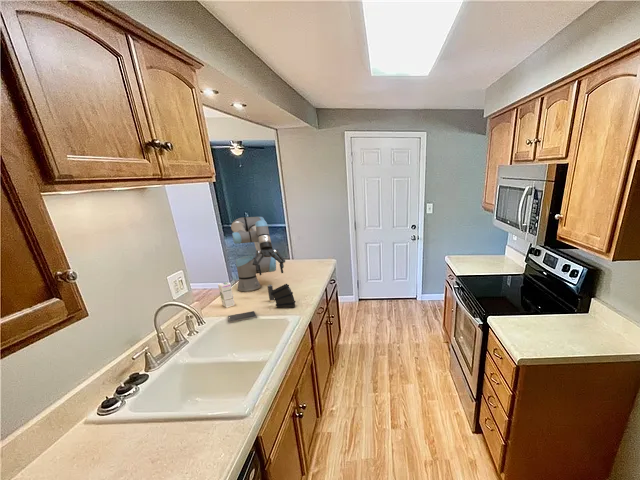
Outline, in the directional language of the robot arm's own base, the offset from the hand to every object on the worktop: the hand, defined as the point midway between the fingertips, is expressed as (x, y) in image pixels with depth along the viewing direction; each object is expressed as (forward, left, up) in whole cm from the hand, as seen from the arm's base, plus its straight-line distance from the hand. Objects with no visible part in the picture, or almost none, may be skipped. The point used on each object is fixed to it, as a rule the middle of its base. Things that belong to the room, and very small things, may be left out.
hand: (271, 273), depth 214 cm
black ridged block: (+21, +1, -17) cm, 27 cm away
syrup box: (0, -28, -17) cm, 33 cm away
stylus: (+6, -3, -17) cm, 18 cm away
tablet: (+25, -23, -17) cm, 38 cm away
